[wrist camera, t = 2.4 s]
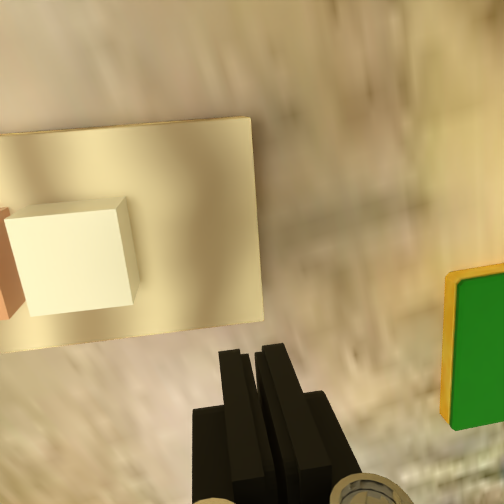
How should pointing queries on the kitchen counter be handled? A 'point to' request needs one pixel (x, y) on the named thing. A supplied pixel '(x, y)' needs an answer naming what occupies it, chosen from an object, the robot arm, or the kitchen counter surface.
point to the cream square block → (74, 255)
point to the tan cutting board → (149, 222)
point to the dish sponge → (473, 348)
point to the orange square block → (8, 274)
